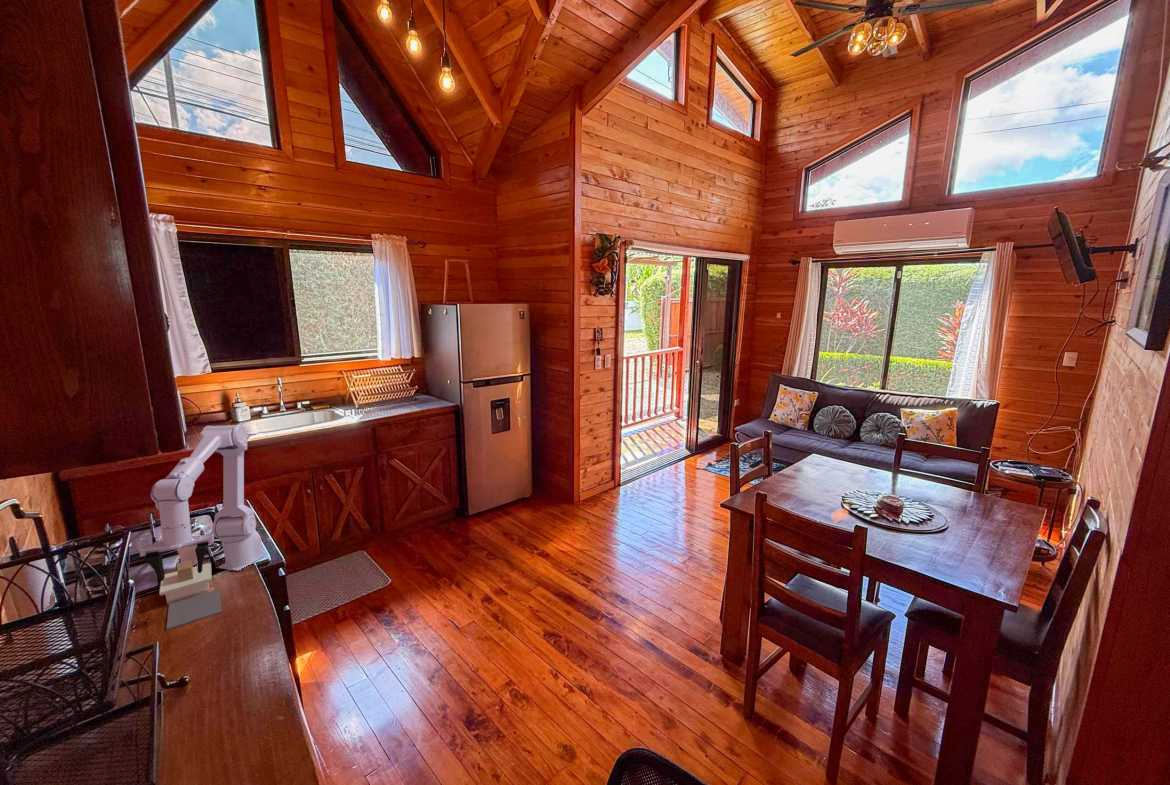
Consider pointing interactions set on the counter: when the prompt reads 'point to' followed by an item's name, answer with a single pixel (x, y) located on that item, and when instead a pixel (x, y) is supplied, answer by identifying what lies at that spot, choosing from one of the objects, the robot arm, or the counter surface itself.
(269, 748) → the counter surface
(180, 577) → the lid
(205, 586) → the dish
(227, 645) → the counter surface
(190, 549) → the smoothie
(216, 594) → the mat
